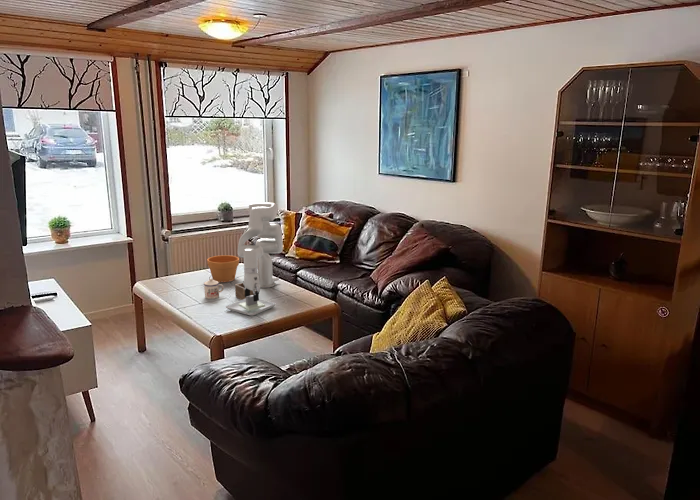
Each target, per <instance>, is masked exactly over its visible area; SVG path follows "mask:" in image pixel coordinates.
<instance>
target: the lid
mask: <svg viewBox="0 0 700 500" xmlns="http://www.w3.org/2000/svg"><path fill="white" fill-rule="evenodd" d="M239 306H240V307H242V308H244V309H246V310H248V311H250V310H254V309H258V308H262V307H265V304H263V303H261V302H259V301H255V302H254V299H253V295H250V296H246V302H244V303H240V304H239Z"/></svg>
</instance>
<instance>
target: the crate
mask: <svg viewBox="0 0 700 500" xmlns="http://www.w3.org/2000/svg"><path fill="white" fill-rule="evenodd" d="M234 292H235V298H238V299H240V300H243V299H245V298H246V297H245V290H244V285H243V282H241V283H235V284H234ZM255 292H256V291H255ZM250 295H254V293H253V291H251V290H250Z"/></svg>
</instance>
